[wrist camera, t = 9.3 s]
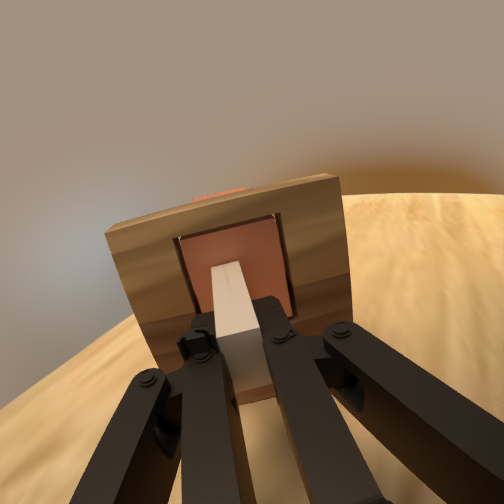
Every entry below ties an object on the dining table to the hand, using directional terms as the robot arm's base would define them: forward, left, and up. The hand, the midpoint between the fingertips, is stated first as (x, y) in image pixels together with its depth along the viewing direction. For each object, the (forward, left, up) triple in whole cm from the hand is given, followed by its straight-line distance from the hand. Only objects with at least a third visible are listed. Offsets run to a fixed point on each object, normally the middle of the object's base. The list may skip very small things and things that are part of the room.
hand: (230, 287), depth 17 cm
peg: (+6, -5, -3) cm, 8 cm away
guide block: (+5, -4, -9) cm, 11 cm away
